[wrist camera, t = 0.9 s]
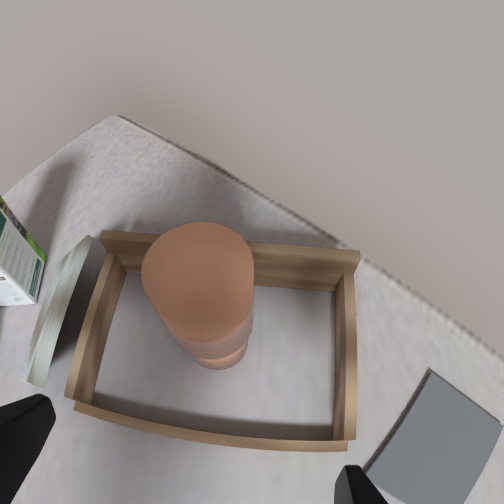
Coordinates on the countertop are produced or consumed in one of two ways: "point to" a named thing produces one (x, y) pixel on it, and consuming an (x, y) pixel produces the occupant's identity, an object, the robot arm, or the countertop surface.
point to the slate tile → (436, 448)
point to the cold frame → (265, 274)
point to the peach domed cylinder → (203, 290)
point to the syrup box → (18, 261)
